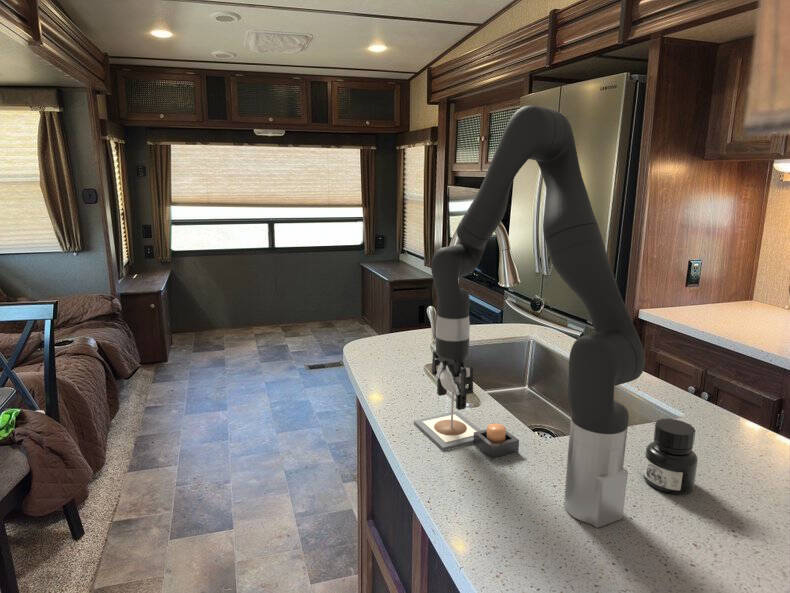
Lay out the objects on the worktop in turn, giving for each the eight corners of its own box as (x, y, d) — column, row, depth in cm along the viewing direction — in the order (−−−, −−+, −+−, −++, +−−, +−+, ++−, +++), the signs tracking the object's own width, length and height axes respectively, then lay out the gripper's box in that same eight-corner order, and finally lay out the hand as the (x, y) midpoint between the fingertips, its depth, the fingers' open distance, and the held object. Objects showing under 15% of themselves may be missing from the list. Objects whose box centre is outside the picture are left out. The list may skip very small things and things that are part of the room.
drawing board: (488, 439, 121) (489, 435, 121) (442, 450, 116) (442, 446, 116) (456, 414, 134) (456, 410, 133) (413, 423, 129) (413, 419, 128)
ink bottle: (631, 474, 107) (637, 419, 105) (664, 465, 111) (671, 412, 108) (671, 501, 99) (679, 442, 96) (706, 491, 102) (714, 434, 99)
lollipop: (444, 435, 121) (445, 372, 117) (434, 423, 126) (436, 363, 123) (469, 431, 122) (471, 370, 119) (459, 420, 128) (461, 361, 125)
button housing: (518, 452, 116) (519, 440, 115) (491, 459, 113) (492, 446, 112) (499, 438, 122) (499, 426, 121) (473, 444, 119) (473, 432, 118)
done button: (508, 442, 116) (509, 429, 115) (493, 446, 114) (494, 433, 113) (498, 434, 119) (498, 422, 119) (483, 438, 118) (483, 425, 117)
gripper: (484, 341, 115) (482, 411, 118) (450, 324, 127) (449, 387, 131) (454, 346, 111) (452, 417, 115) (422, 328, 124) (422, 393, 128)
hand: (451, 401), depth 123 cm, fingers open, 8 cm apart
